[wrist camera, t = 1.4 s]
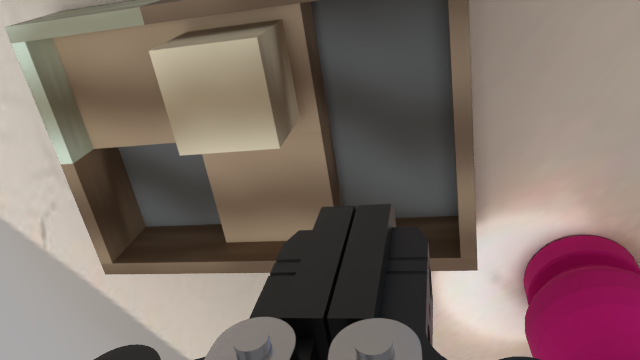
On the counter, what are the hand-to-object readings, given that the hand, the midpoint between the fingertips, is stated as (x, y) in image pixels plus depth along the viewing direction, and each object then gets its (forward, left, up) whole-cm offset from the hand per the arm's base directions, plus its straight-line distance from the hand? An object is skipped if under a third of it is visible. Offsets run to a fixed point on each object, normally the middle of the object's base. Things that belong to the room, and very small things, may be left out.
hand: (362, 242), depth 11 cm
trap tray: (+3, -8, -18) cm, 20 cm away
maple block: (0, -8, -16) cm, 17 cm away
